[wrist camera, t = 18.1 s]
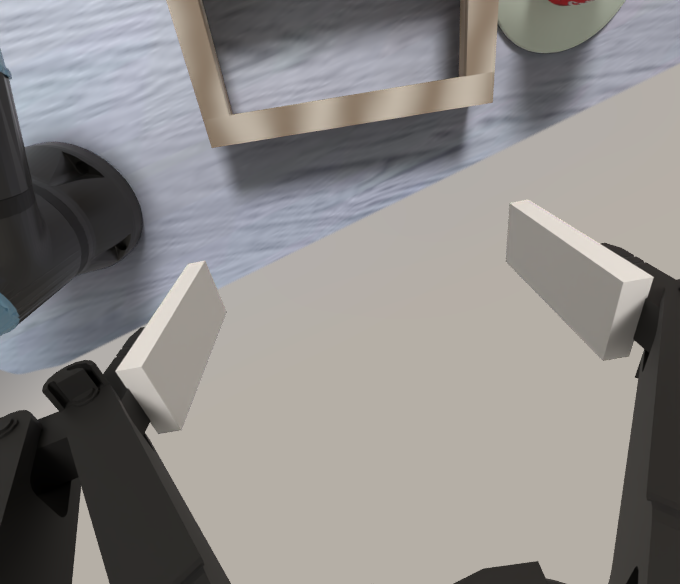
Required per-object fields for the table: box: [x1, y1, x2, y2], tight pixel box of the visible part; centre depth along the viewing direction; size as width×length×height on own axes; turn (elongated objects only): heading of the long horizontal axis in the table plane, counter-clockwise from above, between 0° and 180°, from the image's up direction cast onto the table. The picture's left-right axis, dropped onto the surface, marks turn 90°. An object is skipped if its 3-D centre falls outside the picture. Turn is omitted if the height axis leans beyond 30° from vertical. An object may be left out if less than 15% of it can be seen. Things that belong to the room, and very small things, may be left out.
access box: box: [166, 0, 499, 148], centre depth 34 cm, size 27×16×7 cm, turn 98°
